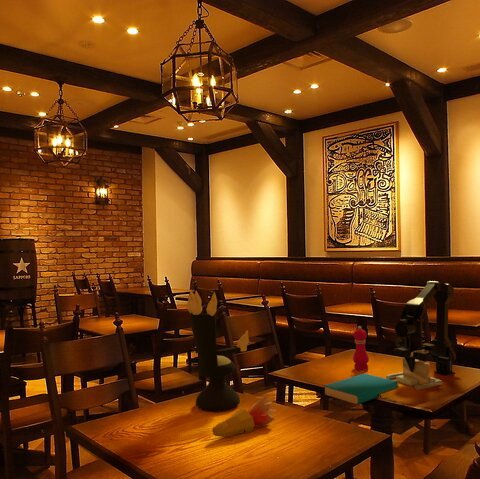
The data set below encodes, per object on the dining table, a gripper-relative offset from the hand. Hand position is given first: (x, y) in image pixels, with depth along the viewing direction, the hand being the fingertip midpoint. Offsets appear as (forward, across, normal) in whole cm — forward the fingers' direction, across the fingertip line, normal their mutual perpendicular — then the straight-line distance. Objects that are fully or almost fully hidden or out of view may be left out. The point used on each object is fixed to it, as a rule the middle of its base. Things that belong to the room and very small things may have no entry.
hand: (416, 371), depth 200 cm
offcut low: (+6, +5, 0) cm, 8 cm away
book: (+6, +26, -4) cm, 27 cm away
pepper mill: (+6, +4, -31) cm, 32 cm away
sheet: (+6, 0, 0) cm, 6 cm away
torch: (+6, +83, +7) cm, 83 cm away
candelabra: (+6, +82, -18) cm, 85 cm away
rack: (+6, +2, 0) cm, 6 cm away
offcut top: (+4, +5, 0) cm, 7 cm away
